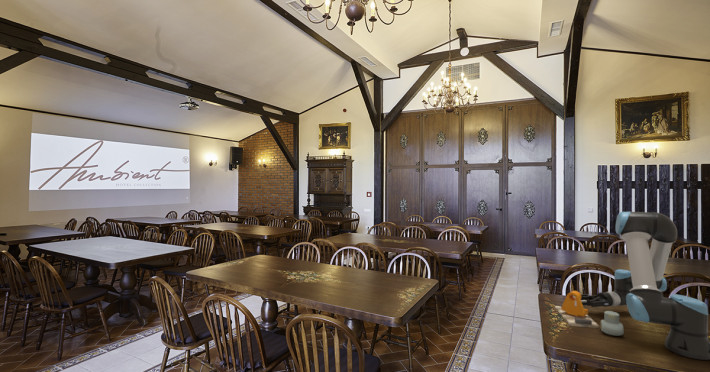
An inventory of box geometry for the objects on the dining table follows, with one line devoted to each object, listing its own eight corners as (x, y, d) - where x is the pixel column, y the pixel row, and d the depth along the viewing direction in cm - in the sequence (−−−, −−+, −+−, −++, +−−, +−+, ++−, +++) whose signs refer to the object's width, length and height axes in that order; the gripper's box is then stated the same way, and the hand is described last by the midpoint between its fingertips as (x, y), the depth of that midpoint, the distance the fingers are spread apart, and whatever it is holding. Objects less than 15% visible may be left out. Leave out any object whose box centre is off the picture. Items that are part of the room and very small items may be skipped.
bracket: (588, 314, 184) (589, 292, 184) (583, 317, 180) (583, 295, 180) (567, 308, 193) (567, 287, 193) (561, 311, 189) (561, 290, 189)
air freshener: (600, 327, 173) (600, 307, 173) (620, 331, 169) (620, 311, 169) (602, 335, 164) (602, 314, 164) (624, 339, 160) (624, 318, 160)
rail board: (599, 328, 172) (599, 322, 172) (569, 325, 176) (569, 319, 176) (580, 310, 197) (580, 304, 197) (554, 307, 201) (554, 302, 201)
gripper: (623, 312, 181) (584, 314, 177) (593, 300, 199) (558, 302, 195) (623, 297, 181) (584, 300, 177) (593, 287, 199) (558, 289, 195)
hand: (571, 301), depth 186 cm, fingers closed on bracket, 5 cm apart
